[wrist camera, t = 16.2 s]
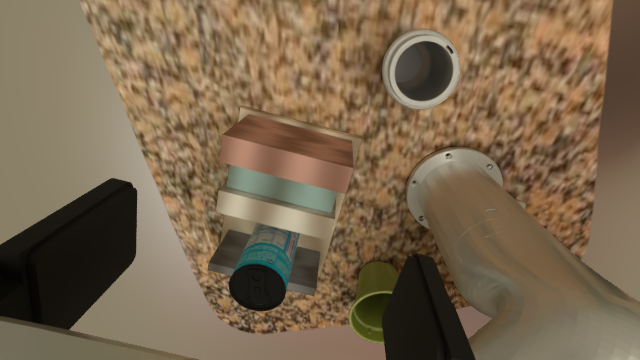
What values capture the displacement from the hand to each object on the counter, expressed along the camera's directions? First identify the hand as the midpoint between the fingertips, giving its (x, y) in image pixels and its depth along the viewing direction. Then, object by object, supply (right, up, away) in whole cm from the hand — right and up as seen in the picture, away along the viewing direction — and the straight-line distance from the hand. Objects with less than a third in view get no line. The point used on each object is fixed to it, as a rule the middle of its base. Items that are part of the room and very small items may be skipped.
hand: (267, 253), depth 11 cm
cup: (+12, +17, +29) cm, 35 cm away
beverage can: (-4, -3, +37) cm, 37 cm away
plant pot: (+11, -13, +41) cm, 44 cm away
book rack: (-3, 0, +37) cm, 37 cm away
